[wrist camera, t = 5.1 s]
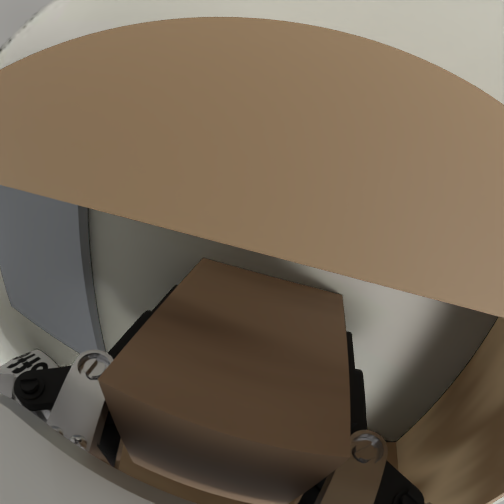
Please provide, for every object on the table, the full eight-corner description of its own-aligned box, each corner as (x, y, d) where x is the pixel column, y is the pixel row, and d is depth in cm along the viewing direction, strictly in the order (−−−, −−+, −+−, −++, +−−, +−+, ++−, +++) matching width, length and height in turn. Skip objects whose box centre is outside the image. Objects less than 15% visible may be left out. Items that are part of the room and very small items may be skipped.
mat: (107, 360, 14) (102, 366, 13) (16, 302, 15) (11, 305, 15) (89, 142, 9) (79, 144, 8) (-6, 141, 10) (-13, 143, 10)
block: (301, 385, 11) (279, 508, 6) (194, 354, 12) (133, 462, 7) (342, 294, 9) (350, 457, 4) (203, 257, 10) (97, 379, 4)
